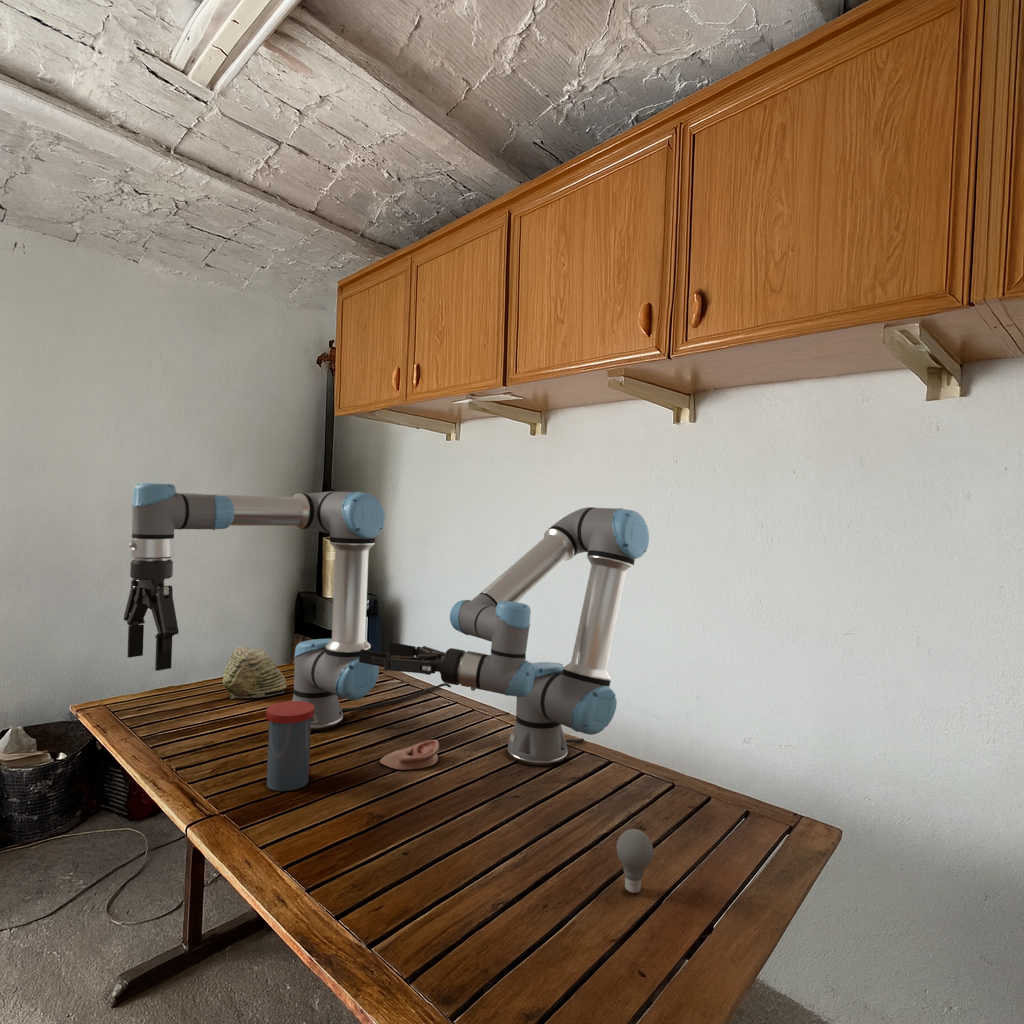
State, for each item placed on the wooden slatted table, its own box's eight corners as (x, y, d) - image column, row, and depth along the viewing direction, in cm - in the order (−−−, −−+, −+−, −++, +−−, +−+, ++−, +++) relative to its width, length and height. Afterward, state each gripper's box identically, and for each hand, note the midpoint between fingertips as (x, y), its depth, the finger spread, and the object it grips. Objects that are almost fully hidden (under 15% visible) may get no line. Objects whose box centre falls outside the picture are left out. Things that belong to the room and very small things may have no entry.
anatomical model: (374, 749, 149) (393, 732, 160) (374, 766, 149) (393, 748, 161) (428, 756, 147) (443, 739, 158) (427, 774, 147) (443, 754, 158)
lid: (291, 726, 133) (291, 719, 133) (255, 718, 137) (255, 710, 137) (324, 712, 142) (324, 705, 142) (289, 705, 146) (289, 698, 146)
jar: (288, 794, 134) (291, 719, 134) (257, 785, 138) (260, 712, 137) (317, 778, 142) (320, 707, 142) (287, 770, 146) (289, 701, 145)
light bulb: (610, 879, 108) (613, 822, 108) (644, 879, 109) (647, 822, 109) (619, 902, 102) (622, 840, 102) (655, 901, 103) (658, 840, 103)
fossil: (218, 695, 195) (220, 647, 195) (278, 685, 208) (279, 640, 207) (228, 703, 189) (230, 653, 188) (289, 692, 201) (290, 645, 201)
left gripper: (108, 554, 134) (104, 654, 134) (159, 565, 118) (155, 678, 119) (146, 552, 140) (143, 648, 140) (199, 563, 124) (195, 671, 124)
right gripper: (438, 696, 125) (344, 677, 131) (479, 676, 149) (397, 660, 155) (444, 658, 126) (349, 641, 132) (483, 644, 150) (401, 629, 156)
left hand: (148, 662), depth 129 cm, fingers open, 13 cm apart
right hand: (375, 651), depth 143 cm, fingers open, 13 cm apart
